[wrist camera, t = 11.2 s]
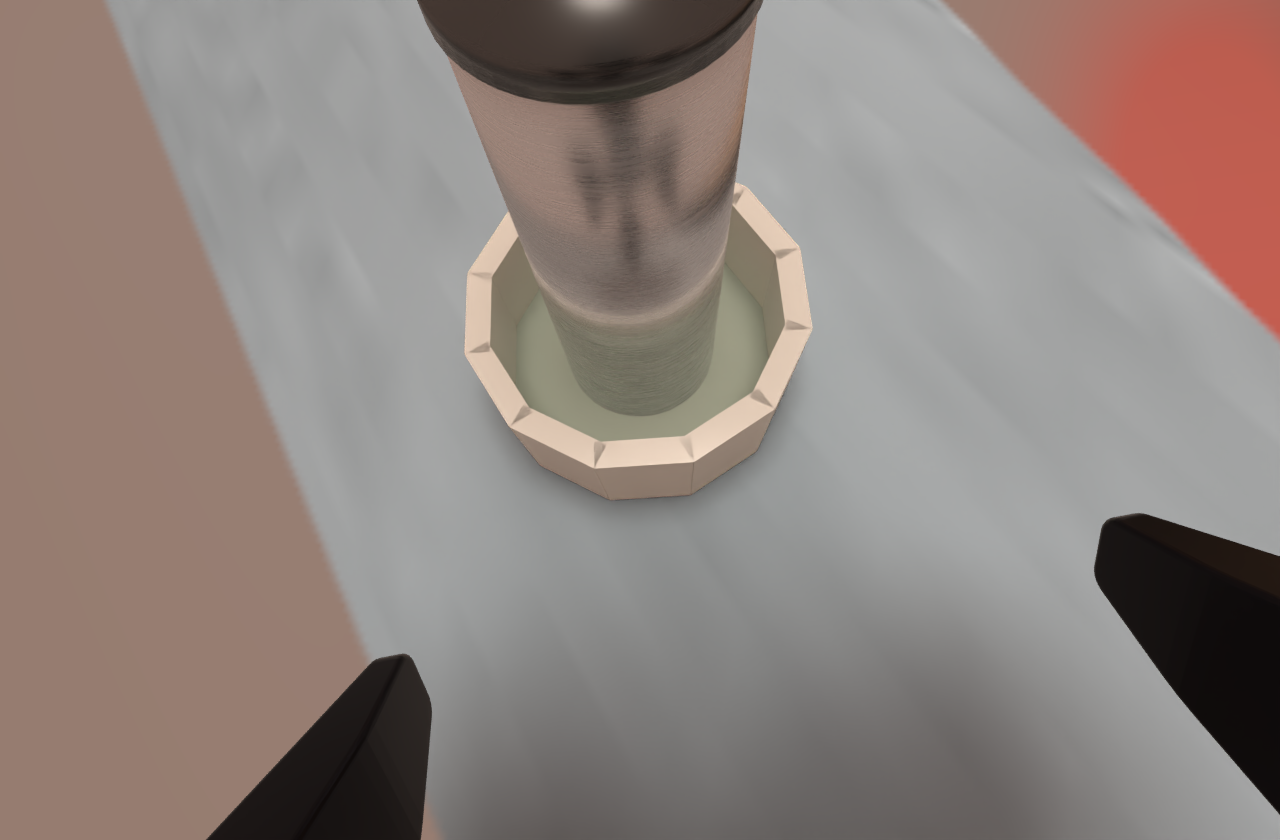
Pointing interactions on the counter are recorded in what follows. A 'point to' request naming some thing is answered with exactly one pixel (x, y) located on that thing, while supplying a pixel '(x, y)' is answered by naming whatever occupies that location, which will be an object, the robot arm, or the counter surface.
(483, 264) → the bowl
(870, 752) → the counter surface
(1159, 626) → the robot arm
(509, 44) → the canister
